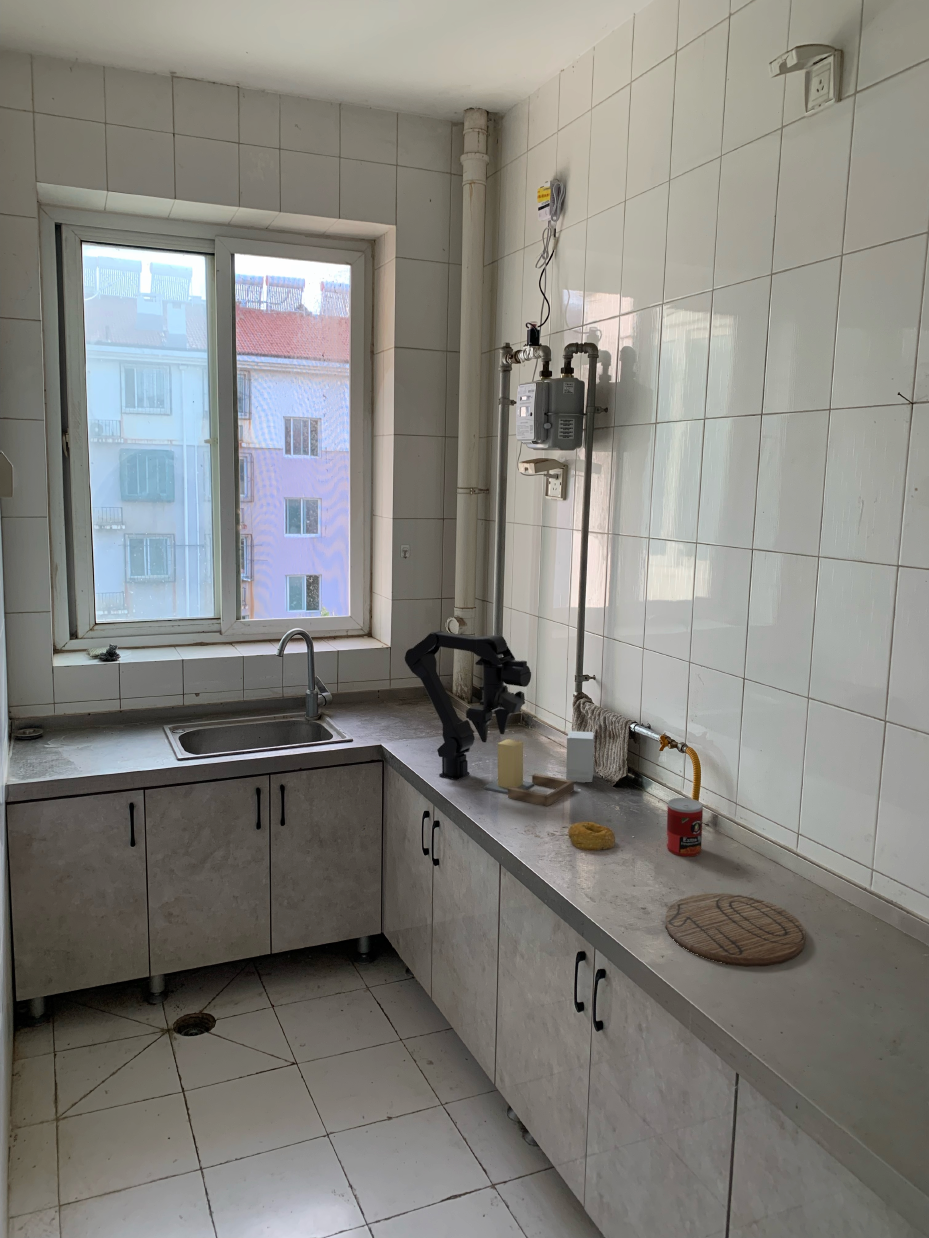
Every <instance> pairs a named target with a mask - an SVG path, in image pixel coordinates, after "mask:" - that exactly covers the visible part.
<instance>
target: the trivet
mask: <svg viewBox="0 0 929 1238" xmlns="http://www.w3.org/2000/svg"><path fill="white" fill-rule="evenodd" d="M804 928H805V927H804V926H803V925H802V923H801V922H800V921H799V920H798V918H797V917H796V916H795V915H793V914H792V913H790V912H789V911H787V910H786V909H784V908H782V907H780V906H778V905H776V904H774V903H771V902H768V901H767V900H762V899H759V898H757V897H756V898H755V897H752V896H747V895H741V894H735V893H734V894H732V893H721V892H719V893H718V892H717V893H716V892H714V893H701V894H696V895H695V894H694V895H690V896H687V897H684V898H681V899H679V900H677V901H676V902H674V903H672V904H670V906H669V908H668V909H667V910H666V912H665V930H667V931H666V932H668V933H667V935H668V934H669V935H668V937H669V936H670V937H671V938H672V939H674V941H675V942H676V943H675V942H674V941H673V942H674V943H675V944H677V943H678V944H679V945H680V946H682V947H684V948H685V949H687V950H689V951H690V952H692V953H694V954H693V955H695V954H698V955H699V956H698V957H700V956H702V957H704V958H703V959H705V958H707V959H710V960H709V961H711V960H714V961H713V962H715V961H717V962H716V963H719V962H722V963H721V964H723V963H725V964H724V965H728V964H729V966H739V967H769V966H774V965H779V964H783V963H786V962H788V961H791V960H793V959H796V957H797V956H799V954H801V953H802V952H803V950H804V948H805V944H806V932H805V929H804ZM670 937H669V938H670ZM671 938H670V939H671ZM672 939H671V940H672ZM678 944H677V945H678ZM679 945H678V946H679ZM680 946H679V947H680ZM682 947H681V948H682ZM684 948H683V949H684ZM685 949H684V950H685ZM687 950H686V951H687ZM689 951H688V952H689ZM690 952H689V953H690ZM692 953H691V954H692ZM702 957H701V958H702ZM707 959H706V960H707Z"/></svg>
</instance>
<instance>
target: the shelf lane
mask: <svg viewBox="0 0 929 1238" xmlns="http://www.w3.org/2000/svg"><path fill="white" fill-rule="evenodd" d="M531 782H532V783H534V785H537V786H542V787H547V788H551V789H554V790H553V791H551V792H550V793H548V794H546V793H541V792H537V791H534V790H533V791H532V790H528V789H526V790H523V789H519V788H514V787H510V788H508V794H507V798H509V799H513V800H518V801H521V802H522V801H523V802H527V803H532V804H536V805H540V806H546V807H549V806H552V804H554V803H555V802H557V801H559V800H561V799H562V798H564V797H565V796H567V795H568V794H570V793H572V792H574V789H575V782H574V781H570V780H566V778H565V779H564V778H558V777H554V776H549V775H543V774H539V773H533V774H532V775H531ZM571 791H572V792H571Z"/></svg>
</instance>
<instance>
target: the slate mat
mask: <svg viewBox="0 0 929 1238" xmlns="http://www.w3.org/2000/svg"><path fill="white" fill-rule="evenodd" d="M534 785H535V784H534V783H532V781H531V782H530V781H526V780H523V785H521V786H519V787H517V788H519V789H523V790H528V789H530V788H532V787H533V786H534ZM483 790H487V791H491V792H497V793H501V794H507V795H508V788H504V787H499V786H498V778H497V779H496V780H494V781H492V782H490V783H488V784H486V785H484V786H483Z"/></svg>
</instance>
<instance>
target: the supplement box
mask: <svg viewBox="0 0 929 1238" xmlns="http://www.w3.org/2000/svg"><path fill="white" fill-rule="evenodd" d="M593 732H594V731H573V730H572V731H571V730H569V731H568V734H567V737H566V763H565V764H566V766H565V767H566V771H565V774H566V775H565V777H566V778H565V780H570V781H574V783H585V782H592V783H593V777H594V768H595V767H594V763H595V760H594V757H595V732H594V733H593ZM576 781H577V782H576Z"/></svg>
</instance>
